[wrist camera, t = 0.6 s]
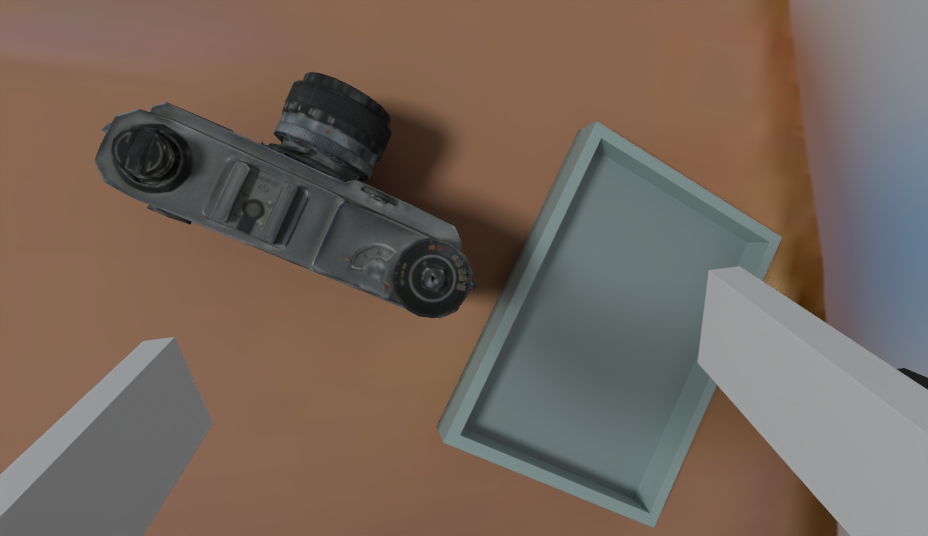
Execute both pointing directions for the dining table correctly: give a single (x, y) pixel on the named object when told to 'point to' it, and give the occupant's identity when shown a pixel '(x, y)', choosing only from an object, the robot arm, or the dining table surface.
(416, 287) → the camera
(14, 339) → the dining table surface
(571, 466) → the storage tray
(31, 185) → the dining table surface
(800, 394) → the robot arm
